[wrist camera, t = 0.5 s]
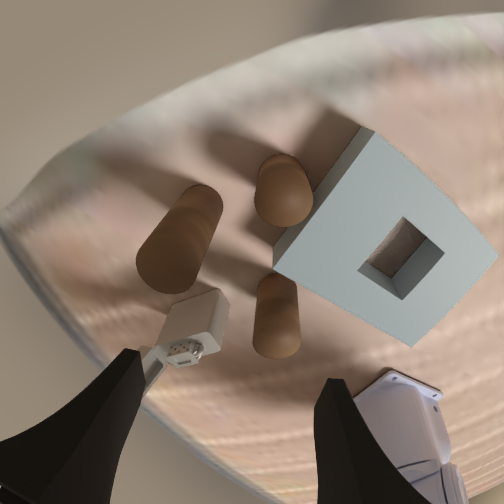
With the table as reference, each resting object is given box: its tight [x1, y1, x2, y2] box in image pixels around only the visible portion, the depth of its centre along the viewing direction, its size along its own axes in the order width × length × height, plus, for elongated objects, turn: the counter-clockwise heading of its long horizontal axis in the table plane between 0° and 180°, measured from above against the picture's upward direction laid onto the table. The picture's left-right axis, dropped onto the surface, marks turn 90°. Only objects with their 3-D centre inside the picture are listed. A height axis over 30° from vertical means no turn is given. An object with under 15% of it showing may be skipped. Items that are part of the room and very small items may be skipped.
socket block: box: [272, 126, 499, 347], centre depth 18 cm, size 12×9×2 cm
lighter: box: [137, 289, 230, 398], centre depth 19 cm, size 7×2×8 cm, turn 116°
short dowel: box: [254, 154, 313, 227], centre depth 16 cm, size 3×3×4 cm
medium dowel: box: [253, 273, 301, 359], centre depth 19 cm, size 3×3×5 cm
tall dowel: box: [136, 185, 223, 294], centre depth 15 cm, size 3×3×7 cm
